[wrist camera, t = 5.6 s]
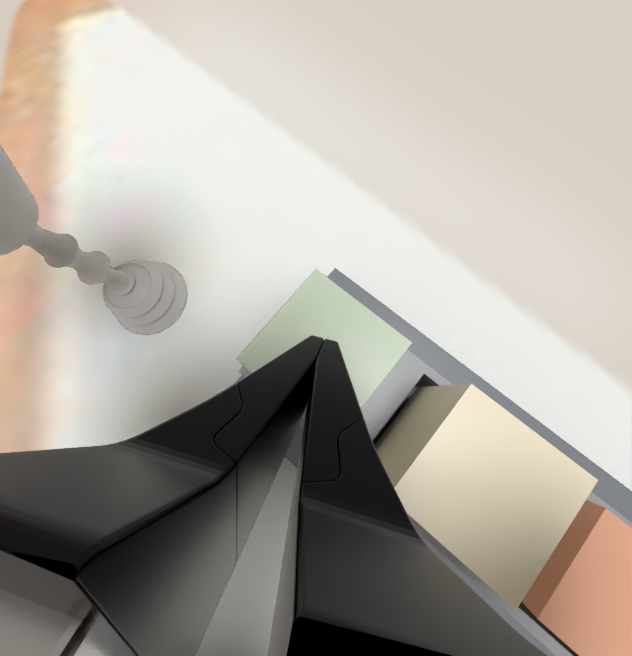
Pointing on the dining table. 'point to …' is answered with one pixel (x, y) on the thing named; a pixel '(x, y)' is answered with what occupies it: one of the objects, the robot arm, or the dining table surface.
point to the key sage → (331, 333)
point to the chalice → (91, 262)
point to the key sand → (482, 484)
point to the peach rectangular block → (588, 585)
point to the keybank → (443, 369)
